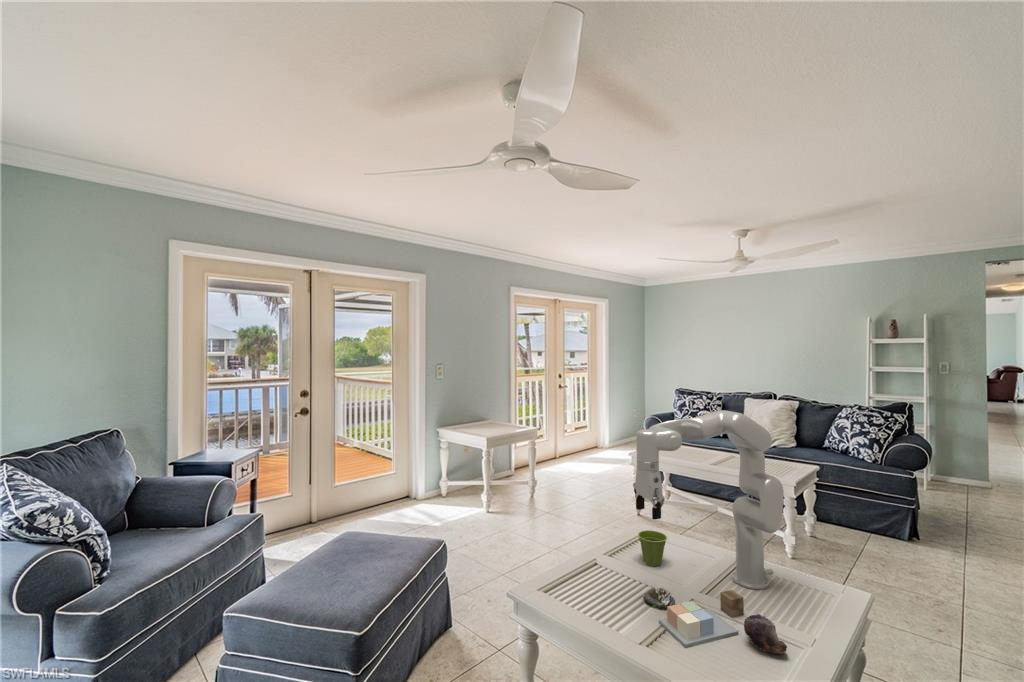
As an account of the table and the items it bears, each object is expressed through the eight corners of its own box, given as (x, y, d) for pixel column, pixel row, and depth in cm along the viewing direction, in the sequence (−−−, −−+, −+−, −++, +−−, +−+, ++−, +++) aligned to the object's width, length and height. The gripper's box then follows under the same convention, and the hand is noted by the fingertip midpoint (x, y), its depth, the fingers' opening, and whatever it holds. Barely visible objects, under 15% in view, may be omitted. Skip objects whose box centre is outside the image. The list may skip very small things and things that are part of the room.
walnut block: (732, 607, 158) (732, 589, 158) (743, 615, 153) (743, 597, 153) (720, 610, 157) (720, 592, 157) (731, 618, 152) (731, 600, 152)
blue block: (702, 624, 147) (702, 609, 147) (713, 633, 142) (713, 617, 142) (690, 627, 145) (690, 612, 145) (701, 636, 141) (700, 620, 141)
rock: (767, 639, 143) (736, 639, 142) (765, 609, 144) (734, 609, 144) (792, 658, 131) (758, 659, 131) (789, 625, 133) (756, 626, 132)
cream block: (689, 627, 145) (689, 612, 145) (700, 636, 141) (700, 620, 141) (677, 630, 144) (677, 615, 144) (687, 639, 139) (687, 623, 139)
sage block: (692, 615, 152) (692, 601, 152) (702, 623, 147) (702, 608, 147) (680, 618, 150) (679, 603, 150) (690, 626, 146) (689, 611, 146)
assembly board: (708, 611, 156) (708, 608, 156) (738, 634, 143) (738, 631, 143) (658, 622, 149) (658, 619, 149) (685, 647, 137) (685, 644, 137)
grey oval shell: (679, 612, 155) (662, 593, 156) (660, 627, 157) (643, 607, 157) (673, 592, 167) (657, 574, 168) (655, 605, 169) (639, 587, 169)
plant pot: (671, 569, 185) (671, 541, 185) (642, 569, 185) (642, 541, 185) (662, 556, 197) (662, 529, 197) (634, 556, 197) (634, 529, 197)
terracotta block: (679, 618, 150) (679, 603, 150) (689, 627, 146) (689, 611, 146) (667, 621, 149) (667, 606, 149) (676, 630, 144) (676, 614, 144)
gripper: (672, 470, 155) (672, 521, 154) (642, 458, 171) (643, 504, 171) (653, 472, 152) (653, 524, 152) (625, 460, 169) (625, 507, 169)
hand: (648, 513), depth 161 cm, fingers open, 9 cm apart
